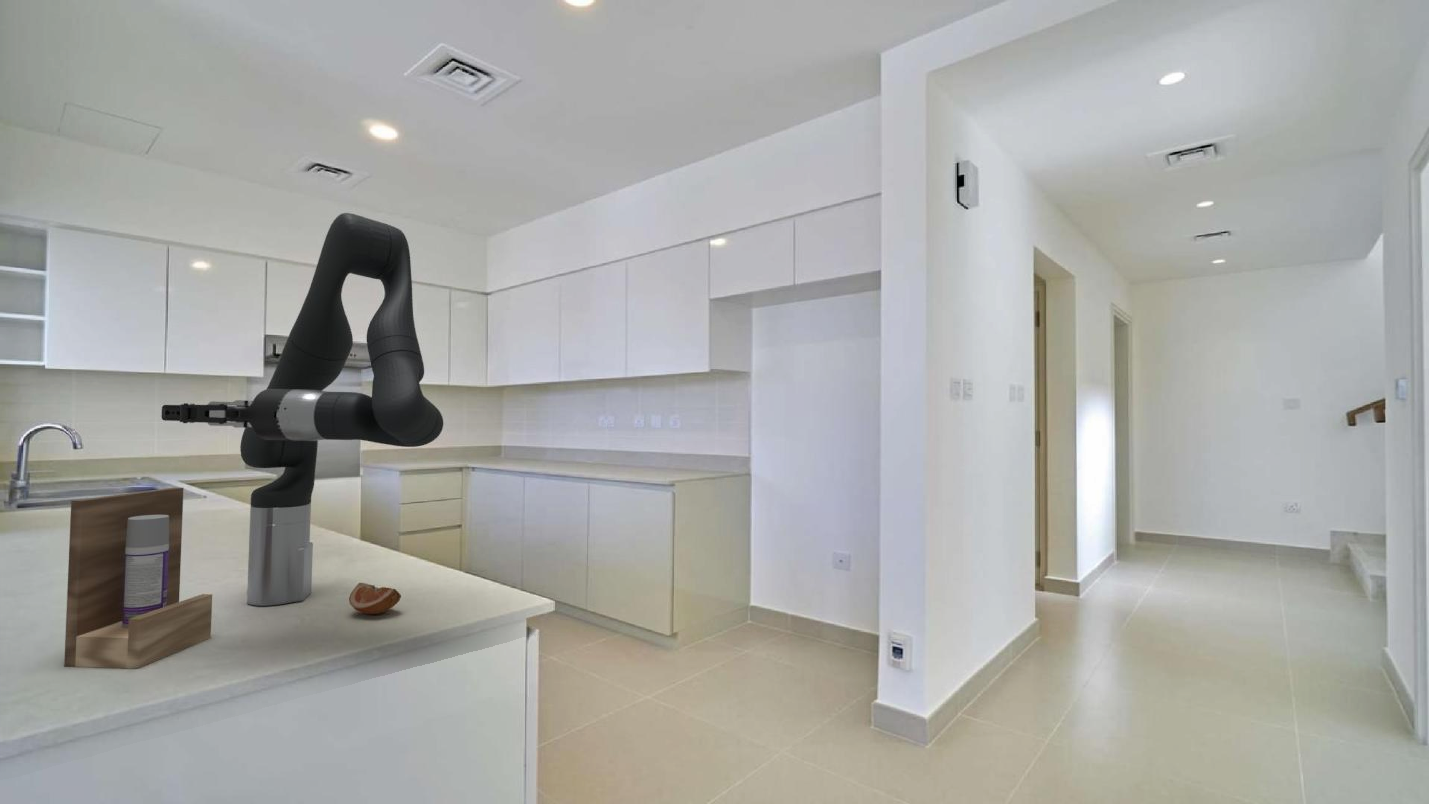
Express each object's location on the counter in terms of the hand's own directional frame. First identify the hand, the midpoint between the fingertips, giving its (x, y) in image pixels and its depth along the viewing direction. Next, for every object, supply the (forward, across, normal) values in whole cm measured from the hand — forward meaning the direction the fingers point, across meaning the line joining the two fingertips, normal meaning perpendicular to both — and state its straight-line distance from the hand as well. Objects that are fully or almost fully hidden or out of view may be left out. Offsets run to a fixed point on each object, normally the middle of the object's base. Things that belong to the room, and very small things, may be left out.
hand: (189, 412), depth 94 cm
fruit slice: (-19, -17, +34) cm, 43 cm away
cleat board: (+4, 0, +34) cm, 34 cm away
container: (+4, +2, +30) cm, 30 cm away
